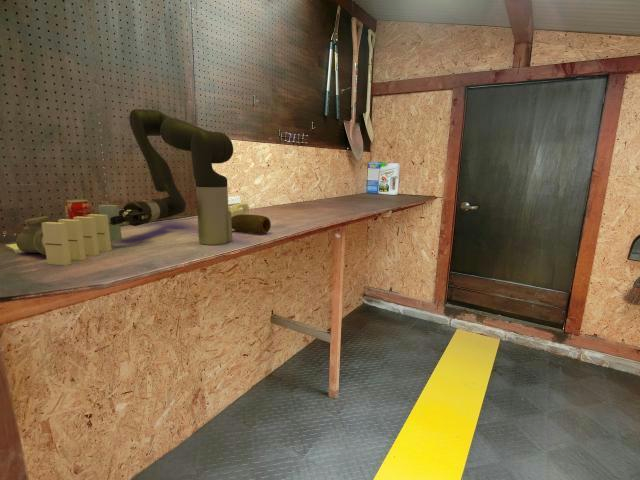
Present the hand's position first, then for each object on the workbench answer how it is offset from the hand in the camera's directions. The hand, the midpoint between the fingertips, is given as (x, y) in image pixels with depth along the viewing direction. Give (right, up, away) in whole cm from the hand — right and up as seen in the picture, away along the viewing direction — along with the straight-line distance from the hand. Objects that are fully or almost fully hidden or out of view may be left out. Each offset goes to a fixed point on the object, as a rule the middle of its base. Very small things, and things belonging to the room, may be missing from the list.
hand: (103, 220), depth 100 cm
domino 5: (0, -5, +4) cm, 7 cm away
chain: (+21, +3, +53) cm, 57 cm away
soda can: (-16, -5, +15) cm, 22 cm away
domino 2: (-2, -10, -9) cm, 14 cm away
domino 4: (0, -8, 0) cm, 8 cm away
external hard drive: (-21, -8, +3) cm, 22 cm away
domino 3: (-1, -9, -5) cm, 10 cm away
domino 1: (-2, -11, -13) cm, 17 cm away
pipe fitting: (-13, -9, -5) cm, 17 cm away
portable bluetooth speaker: (+35, -3, +29) cm, 46 cm away
